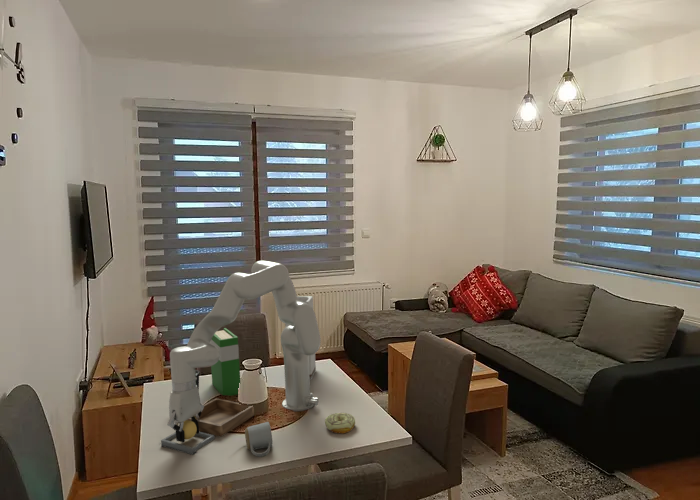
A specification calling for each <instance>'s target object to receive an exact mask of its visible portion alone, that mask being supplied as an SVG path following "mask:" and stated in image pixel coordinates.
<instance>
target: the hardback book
mask: <svg viewBox="0 0 700 500" xmlns="http://www.w3.org/2000/svg"><path fill="white" fill-rule="evenodd" d="M210 344H212V345H214V346H215V347H217V348H218V350H219V352H220V358H219V360H218V362H217V363H216V364H214V365H212V366H210V367H211V368H210V369H211V384H212V386H213V387H214V388H215V390H217V392H218V393H219V394H220V395H222V396H223V397H224V396H230V397H231V396H236V395H239V394H238V388H239V383H240V384H241V371H240V355H239V354H240V352H239V351H240V350H239V349H240V348H239V337H238V336H237V335H236V334H234V333H233V332H232V331H231V330H229V329H227V327H224V328H223V330H217V332H216V333H215V334H214V335H213V337H212V339H211V341H210Z"/></svg>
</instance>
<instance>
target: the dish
mask: <svg viewBox="0 0 700 500" xmlns="http://www.w3.org/2000/svg"><path fill="white" fill-rule="evenodd" d="M194 436H197V437H200V438H204V439H203V440H202V441H200V442H198V443H197V444H195V445H194V446H190V445H185V444H182V443H179V442H178V443H177V442H174V441H171V440H173V439H175V438H176V431H175V432H174V433H171V434H170V435H168V436H166V437H164V438H163V439H161V440H160V442H161V443H160V446H161V447H163V448H167V449H171V450H174V451H178V452H180V453H181V452H182V453H184V454H189V455H192V456H193V455H195V454H197V453H198V451H197V450H199V449H201V448H202V447H204V446H206V445H208V444H209V443H210V442H212V441H213V440H215V435H212V434H208V433H204V432H200V431H199V433H198V434H197V433H196V434H195V435H194Z"/></svg>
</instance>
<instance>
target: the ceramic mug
mask: <svg viewBox="0 0 700 500" xmlns="http://www.w3.org/2000/svg"><path fill="white" fill-rule="evenodd" d="M271 427H272V426H271V424H270V422H269V421H266V422H262V423H259V424H258V423H257V424H254V425H250V426H247V427H246V428H245V429H244V435H245V443H246V448H247V450H249V451H251V453H252V455H254V456H255V457H265V456H267V455H268V454H269V453H270V450H271V448H272V447H273V435H272V429H271ZM265 448H267V449H266V450H265V451H264V452H256V451H255V450H258V449H259V450H260V449H265Z"/></svg>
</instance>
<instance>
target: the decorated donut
mask: <svg viewBox="0 0 700 500" xmlns="http://www.w3.org/2000/svg"><path fill="white" fill-rule="evenodd" d="M324 423H325V426H326V428H327V429H328V430H329V431H330V432H332V433H333V434H342V435H343V434H346V433H350V432H351V431H352V430H353V428H354V427H355V424H356V418H355V417H354V416H353V415H352V414H350V413H347V412H339V413H338V412H337V413H336V412H335V413H331V414H329V415H328V416H327V417H326V418H325V419H324Z"/></svg>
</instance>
